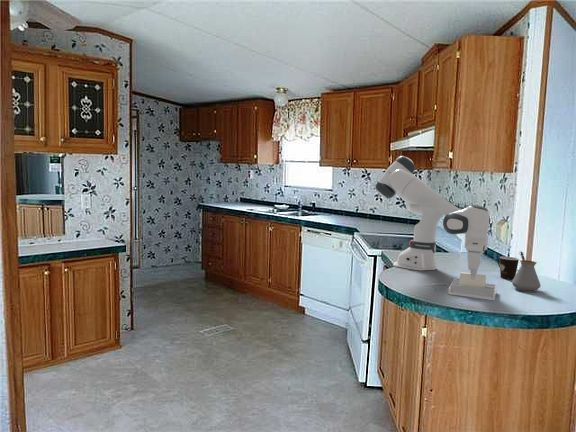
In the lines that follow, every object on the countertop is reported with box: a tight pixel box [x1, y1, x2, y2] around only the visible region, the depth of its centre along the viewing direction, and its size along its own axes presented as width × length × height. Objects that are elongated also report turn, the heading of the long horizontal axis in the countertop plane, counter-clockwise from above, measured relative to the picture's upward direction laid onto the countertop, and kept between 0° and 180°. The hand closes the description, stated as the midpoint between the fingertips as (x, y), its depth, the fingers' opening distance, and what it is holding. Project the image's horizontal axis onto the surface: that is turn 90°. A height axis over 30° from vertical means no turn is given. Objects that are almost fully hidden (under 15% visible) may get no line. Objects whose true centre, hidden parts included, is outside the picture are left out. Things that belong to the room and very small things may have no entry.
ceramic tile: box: [459, 271, 487, 288], centre depth 197 cm, size 10×2×8 cm, turn 65°
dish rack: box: [447, 278, 497, 301], centre depth 200 cm, size 18×13×4 cm
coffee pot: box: [511, 250, 542, 293], centre depth 214 cm, size 21×12×15 cm, turn 164°
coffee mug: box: [496, 256, 520, 281], centre depth 233 cm, size 12×9×10 cm
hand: (473, 276), depth 197 cm, fingers open, 8 cm apart
